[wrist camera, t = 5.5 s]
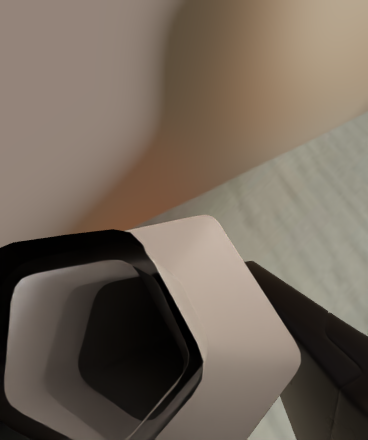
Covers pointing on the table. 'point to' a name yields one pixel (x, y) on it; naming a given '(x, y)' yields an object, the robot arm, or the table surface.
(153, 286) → the perfume bottle
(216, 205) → the table surface
